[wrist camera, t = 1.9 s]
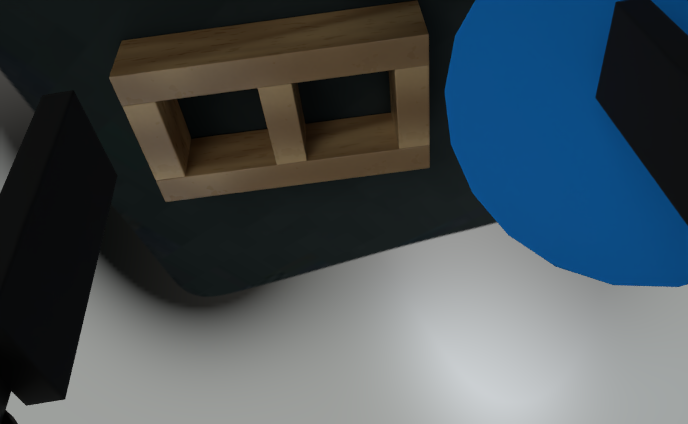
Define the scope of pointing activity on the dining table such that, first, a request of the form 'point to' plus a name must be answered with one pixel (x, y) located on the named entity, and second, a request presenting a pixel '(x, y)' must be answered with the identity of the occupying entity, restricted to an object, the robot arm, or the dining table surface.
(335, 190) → the dining table surface
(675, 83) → the robot arm
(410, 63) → the holder
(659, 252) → the thermos
